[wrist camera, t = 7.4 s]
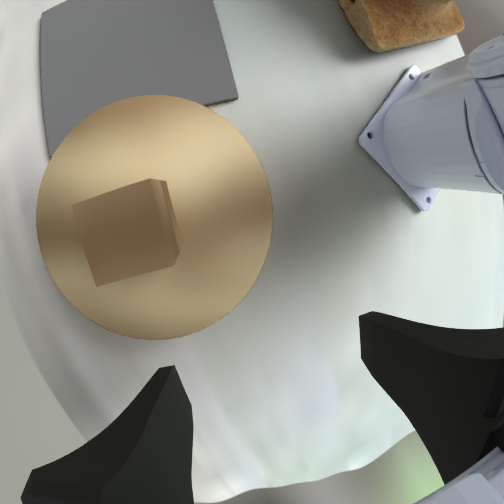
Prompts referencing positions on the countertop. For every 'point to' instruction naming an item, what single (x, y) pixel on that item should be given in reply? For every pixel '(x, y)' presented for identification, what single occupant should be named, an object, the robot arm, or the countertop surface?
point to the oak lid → (154, 217)
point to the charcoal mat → (128, 57)
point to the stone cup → (402, 21)
